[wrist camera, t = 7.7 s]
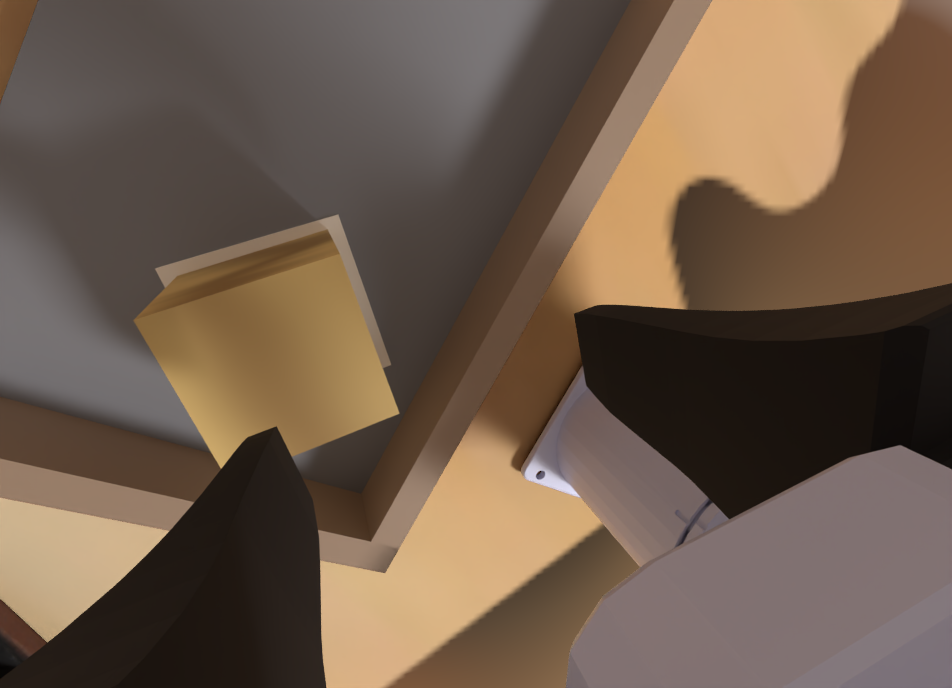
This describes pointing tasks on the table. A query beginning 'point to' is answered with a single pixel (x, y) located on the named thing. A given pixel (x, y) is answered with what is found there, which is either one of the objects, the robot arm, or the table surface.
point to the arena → (296, 217)
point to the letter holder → (15, 640)
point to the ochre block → (269, 348)
